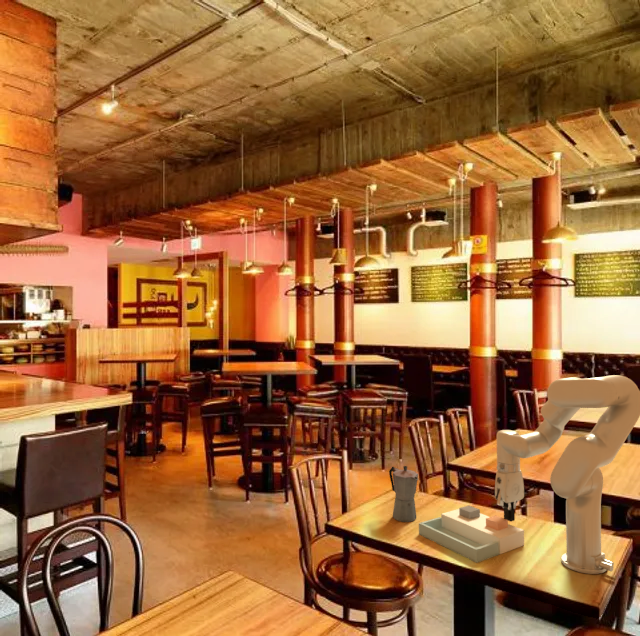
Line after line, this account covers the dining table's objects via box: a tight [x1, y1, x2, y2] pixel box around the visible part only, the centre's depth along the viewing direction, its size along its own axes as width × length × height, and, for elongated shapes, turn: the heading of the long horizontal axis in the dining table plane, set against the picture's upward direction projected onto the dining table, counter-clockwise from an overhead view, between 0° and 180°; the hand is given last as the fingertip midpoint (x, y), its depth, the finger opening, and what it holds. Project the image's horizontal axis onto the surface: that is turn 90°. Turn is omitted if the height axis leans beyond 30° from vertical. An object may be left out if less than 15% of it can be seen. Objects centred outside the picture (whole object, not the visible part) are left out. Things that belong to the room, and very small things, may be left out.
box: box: [418, 516, 501, 563], centre depth 178 cm, size 26×11×4 cm, turn 32°
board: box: [440, 508, 525, 555], centre depth 184 cm, size 26×12×5 cm, turn 32°
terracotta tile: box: [486, 515, 509, 531], centre depth 179 cm, size 5×5×2 cm
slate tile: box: [458, 504, 481, 519], centre depth 189 cm, size 5×5×2 cm
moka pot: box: [388, 465, 419, 523], centre depth 202 cm, size 10×15×20 cm, turn 39°
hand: (509, 519), depth 183 cm, fingers closed
